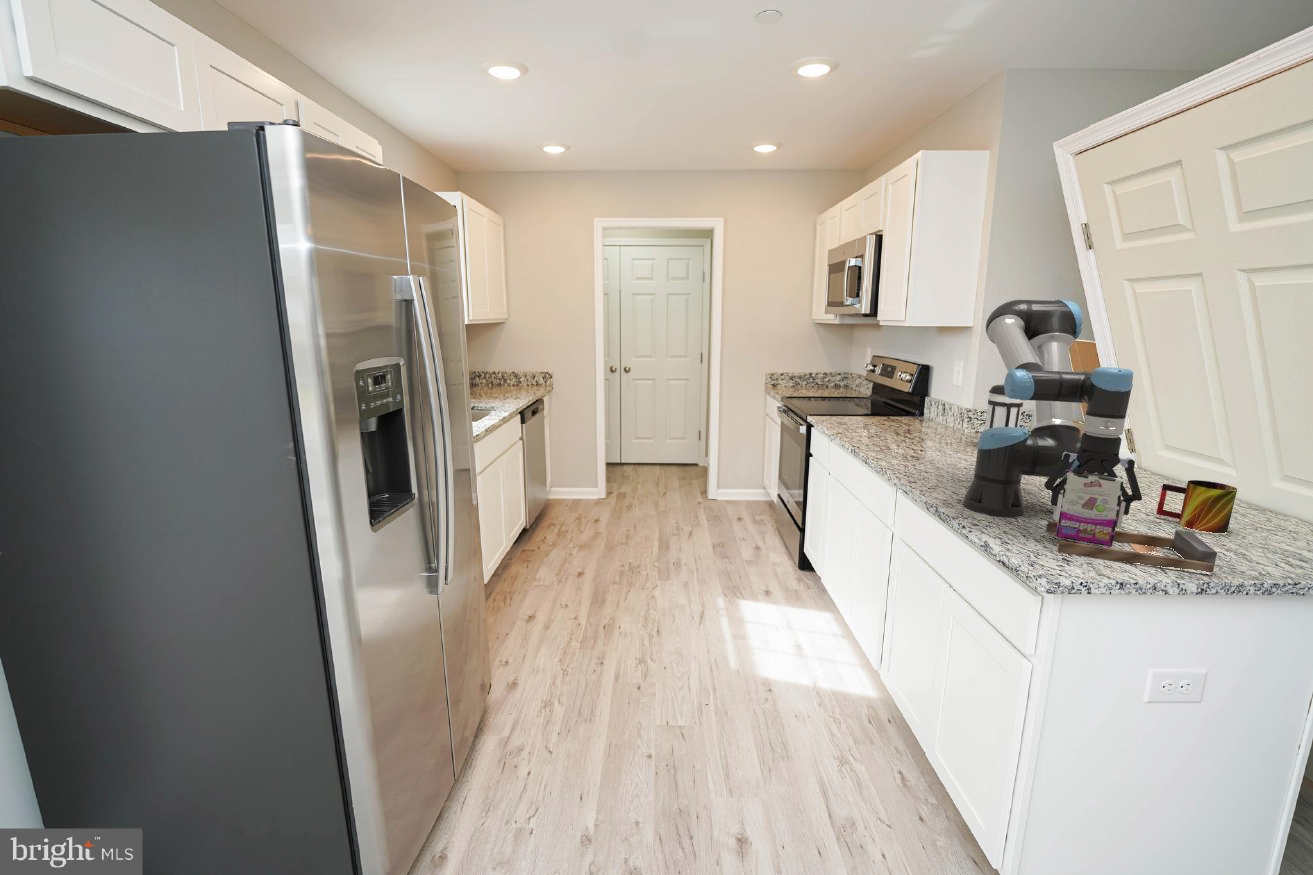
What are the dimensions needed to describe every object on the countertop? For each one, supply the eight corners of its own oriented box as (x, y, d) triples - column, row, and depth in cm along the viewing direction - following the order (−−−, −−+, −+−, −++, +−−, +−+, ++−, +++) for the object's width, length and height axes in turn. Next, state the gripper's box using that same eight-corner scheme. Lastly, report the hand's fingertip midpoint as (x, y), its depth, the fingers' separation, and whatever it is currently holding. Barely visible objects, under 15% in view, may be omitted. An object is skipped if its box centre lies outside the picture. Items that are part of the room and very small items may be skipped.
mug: (1154, 517, 166) (1163, 476, 164) (1218, 526, 160) (1228, 483, 158) (1164, 528, 158) (1174, 484, 155) (1233, 537, 152) (1244, 492, 149)
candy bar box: (1110, 541, 143) (1123, 476, 139) (1112, 548, 139) (1125, 480, 135) (1055, 531, 149) (1066, 468, 145) (1055, 537, 145) (1066, 472, 141)
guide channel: (1058, 552, 139) (1062, 532, 138) (1046, 530, 154) (1049, 511, 153) (1214, 576, 128) (1219, 554, 127) (1185, 549, 143) (1189, 530, 141)
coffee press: (967, 448, 250) (977, 376, 244) (997, 446, 255) (1007, 376, 249) (1002, 457, 234) (1013, 381, 228) (1033, 455, 239) (1045, 381, 233)
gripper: (1044, 431, 140) (1030, 519, 144) (1172, 443, 130) (1152, 536, 135) (1039, 426, 146) (1026, 510, 151) (1160, 436, 137) (1142, 526, 141)
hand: (1085, 522), depth 143 cm, fingers closed on candy bar box, 11 cm apart
